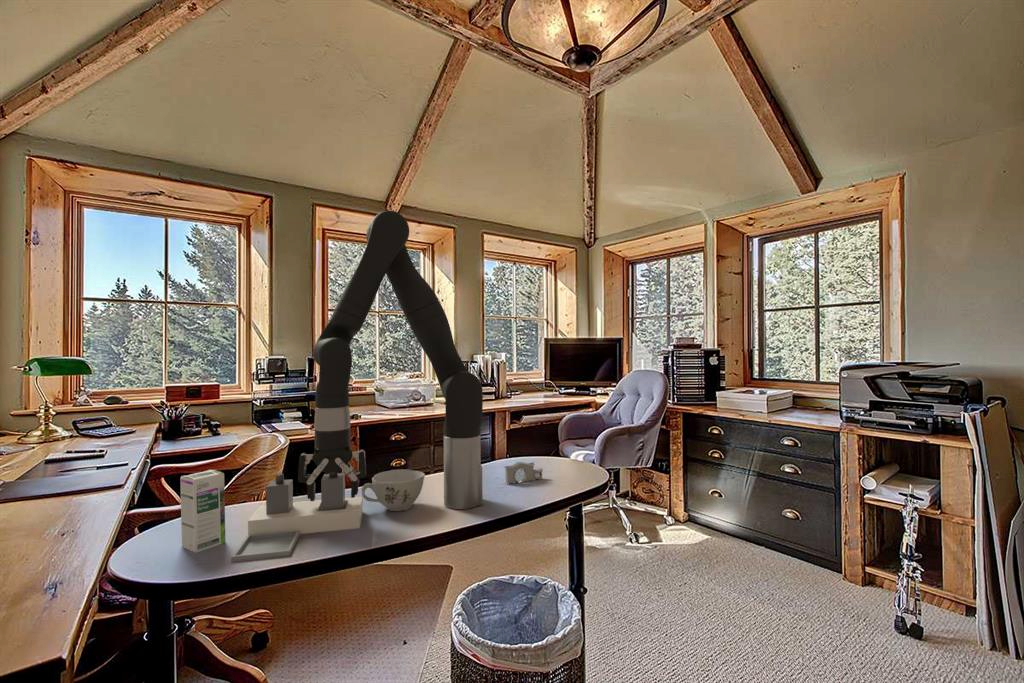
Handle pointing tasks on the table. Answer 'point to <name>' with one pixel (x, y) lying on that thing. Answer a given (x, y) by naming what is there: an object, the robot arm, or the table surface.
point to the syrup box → (202, 510)
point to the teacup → (395, 488)
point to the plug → (333, 491)
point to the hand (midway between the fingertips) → (333, 498)
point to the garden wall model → (528, 473)
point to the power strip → (301, 512)
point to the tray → (266, 546)
